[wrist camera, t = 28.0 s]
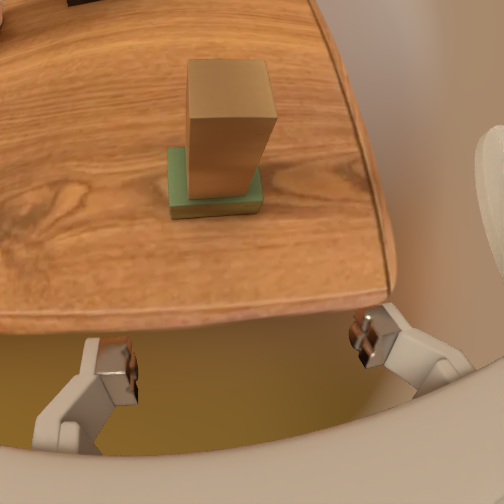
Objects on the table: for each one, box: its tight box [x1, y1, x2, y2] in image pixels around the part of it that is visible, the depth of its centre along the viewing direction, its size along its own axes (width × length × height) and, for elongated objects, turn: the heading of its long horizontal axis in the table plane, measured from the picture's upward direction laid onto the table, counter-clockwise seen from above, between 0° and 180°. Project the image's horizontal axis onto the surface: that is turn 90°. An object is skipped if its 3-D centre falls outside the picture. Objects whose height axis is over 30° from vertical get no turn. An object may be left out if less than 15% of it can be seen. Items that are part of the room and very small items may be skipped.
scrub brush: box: [167, 59, 278, 219], centre depth 15 cm, size 5×4×9 cm
